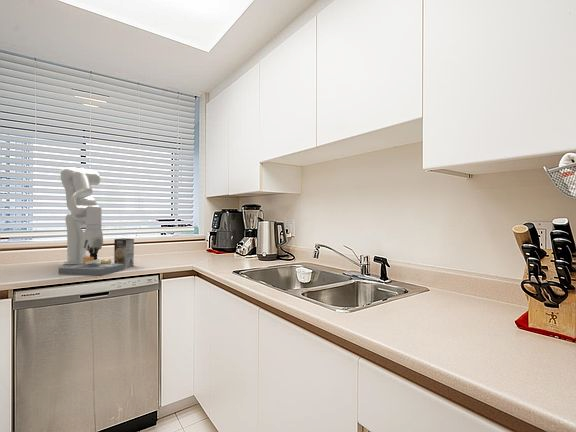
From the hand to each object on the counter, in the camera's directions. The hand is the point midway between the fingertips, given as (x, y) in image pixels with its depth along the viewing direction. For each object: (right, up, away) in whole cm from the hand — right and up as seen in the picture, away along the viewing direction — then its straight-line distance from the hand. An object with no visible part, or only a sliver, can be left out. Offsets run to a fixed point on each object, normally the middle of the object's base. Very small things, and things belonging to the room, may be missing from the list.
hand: (93, 260), depth 174 cm
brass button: (+13, 0, -11) cm, 17 cm away
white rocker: (+6, 0, -10) cm, 11 cm away
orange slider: (-1, -2, -3) cm, 4 cm away
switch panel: (+6, -5, -10) cm, 12 cm away
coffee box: (+12, -5, +10) cm, 16 cm away
